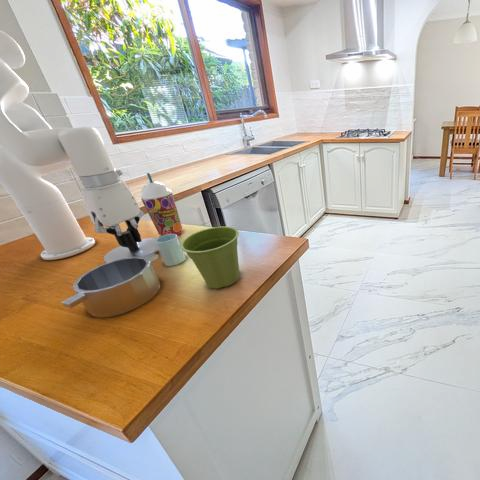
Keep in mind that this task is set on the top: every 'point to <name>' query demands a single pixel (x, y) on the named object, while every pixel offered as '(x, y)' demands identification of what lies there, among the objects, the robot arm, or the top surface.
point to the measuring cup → (170, 249)
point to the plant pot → (214, 255)
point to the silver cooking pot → (116, 286)
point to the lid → (132, 248)
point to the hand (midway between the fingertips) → (131, 243)
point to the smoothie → (161, 207)
